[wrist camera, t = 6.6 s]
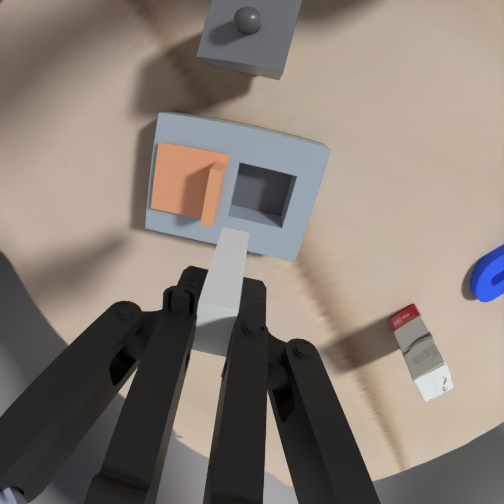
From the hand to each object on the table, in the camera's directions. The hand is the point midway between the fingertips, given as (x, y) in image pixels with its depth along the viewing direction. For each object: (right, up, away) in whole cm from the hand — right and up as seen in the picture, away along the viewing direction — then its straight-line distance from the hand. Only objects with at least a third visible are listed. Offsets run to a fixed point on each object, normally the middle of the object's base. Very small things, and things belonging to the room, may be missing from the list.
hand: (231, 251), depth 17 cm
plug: (+1, +20, +7) cm, 21 cm away
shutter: (-5, +7, +10) cm, 13 cm away
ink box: (+25, -12, +23) cm, 36 cm away
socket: (-1, +8, +14) cm, 16 cm away
